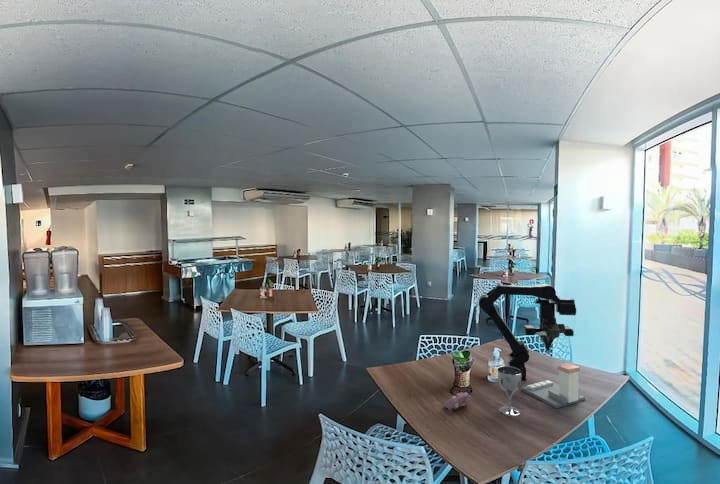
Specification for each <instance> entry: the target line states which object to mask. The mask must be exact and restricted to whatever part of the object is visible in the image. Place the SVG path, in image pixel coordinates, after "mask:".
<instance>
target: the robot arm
mask: <svg viewBox="0 0 720 484" xmlns="http://www.w3.org/2000/svg"><path fill="white" fill-rule="evenodd" d="M502 295H509V296H511V295H513V296H529V297H535V298H536V299H535V300H534V303H535V304H537V305H539V315H538V318H539V324H538V327H534V326H533V325H530V324H529V325H527V324H523V326H522V328H521V331H522V332H523V334H524V335H526V336H535V335H537V336H538V337H540V339H541V341H542V344H543V346H544V348H545V351H547V352H548V351H550V349H551V346H552V344H553V342H554V341H555V339H557V338H559V337H560V336H561V335H560V334H563V335H565V336H566V337H574V336H575V334H574V333H575V332H574V330H573V328H571V327H570V326H568V325H565V324H564V323H557V318H556V313H558V315H559V316H572V317H573V316H576V315H577V307H576V303H575V301H576V300H575V299H574V298H560V297H559V296H558V295H557V292H556V289H555V287H554V286H552V285H551V284H549V283H543V284H541V283H540V284H535V285H515V284H514V285H513V284H511V285H510V284H500V283H498V284H496V285H495V286H494V288H492V289H491V290H490V291H488V292H487V293H486V294H481V296H479V298H478V306H479V308H480V309H481V310H482V311H483V312H484V313H485V314H486V315H487V316H489V318H490V319H491V320H492V322H494V324H495V326H496V328H497V329H498V330H499V332H500V333H501V334H502V336H503V337H504V339H505V340H506V342H507V343H508V345H509V347H510V350H511V352H510V353H509V354H508V359H509V361H507V366H511V367H515V368H518V369H520V370H521V381H527V368H526V363H527V362H529V360H530V354H529V353H530V351H529V349H528V346H527V345H526V344H525V343H524V341H523V339H521V340H520V341H519V339H517V337H516V336H515V335H514V333H513V332H512V331H511V329H510V328H509V326H508V325H507V324H506V322H505V320H504V319H503V318H502V316H501V315H500V313H499V311H498V309H497V308H496V307H497V306H496V305H495V302H497V300H498V299H499V298H500V297H501V296H502ZM550 300H551V301H550Z"/></svg>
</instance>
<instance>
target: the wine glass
mask: <svg viewBox="0 0 720 484" xmlns="http://www.w3.org/2000/svg"><path fill="white" fill-rule="evenodd" d="M496 372H497V380H498V384H499V386H500V388H501V389H503V391H504V392H505V394H506V396H507V401H508V405H503V406H500V407H499V408H498V411H499V412H500V413H501V412H502V413H503V414H502V413H501V414H502V415H504V414H505V415H504V416H507V415H508V416H507V417H519V416H520V415H521V411H520V410H519V409H518V408H516V407H514V406H511V405H512V397H513V394H514V393H515V392H517V391H518V390H519V389H520V386H521V383H522V380H521V370H520V369H518V368H515V367H511V366H508V365H502V366H498V367H497V371H496ZM518 415H519V416H518Z"/></svg>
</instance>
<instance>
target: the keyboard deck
mask: <svg viewBox="0 0 720 484" xmlns="http://www.w3.org/2000/svg"><path fill="white" fill-rule="evenodd" d="M520 389H521V391H522V392H524V393H526V394H528V395H530V396H531V397H534V398H535V399H538V400H540V402H541V401H542V402H544V403H545V404H546V405H549V406H551V407H553V408H555V409H558V408H562V407H563V408H564V407H566V406H570V405H572V404H575V403H576V404H577V403H580V402H584V401H585V400H586V396H585V395H584V396H583V395H582V394H580V393H578V400H577V401H573V402H570V403H568V402H566V397H563V396H561V395H559V383H556V382H553V381H551V380H548V379H547V380H543V381H539V382H535V383H532V384H527V385H525V386H521V388H520Z"/></svg>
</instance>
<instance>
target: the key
mask: <svg viewBox="0 0 720 484" xmlns="http://www.w3.org/2000/svg"><path fill="white" fill-rule="evenodd" d="M557 370H558V385H559V395H561V396H563V397H566V402H568V403H570V402H573V401H577V400H578V394H579V372H580V366H578V365H575V364H573V363H571V362H565V363H561V364H558V365H557Z"/></svg>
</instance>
